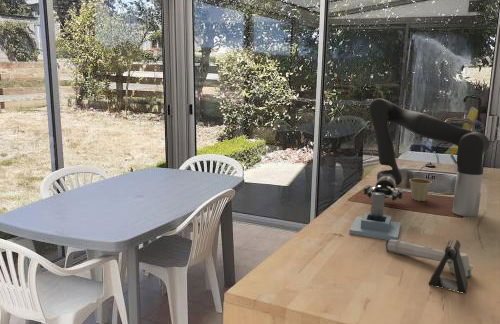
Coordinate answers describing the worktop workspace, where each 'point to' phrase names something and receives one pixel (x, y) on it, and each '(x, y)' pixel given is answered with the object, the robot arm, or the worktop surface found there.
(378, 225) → the block
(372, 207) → the steel axle
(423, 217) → the worktop surface
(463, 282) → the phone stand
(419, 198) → the flower pot
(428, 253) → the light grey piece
